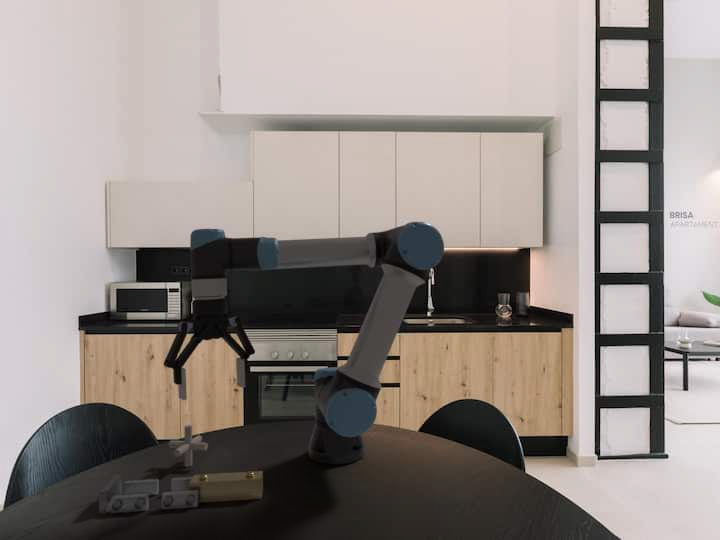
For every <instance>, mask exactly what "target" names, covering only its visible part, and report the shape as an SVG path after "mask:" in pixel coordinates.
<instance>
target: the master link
mask: <svg viewBox="0 0 720 540" xmlns="http://www.w3.org/2000/svg"><path fill="white" fill-rule="evenodd" d="M192 477H193V478H192V479H191V481H190V483H189V491H191V490H198V503H211V502H212V503H213V502H228V501H243V500H244V501H245V500H261V499H262V496H263V492H264V471H263V470H258V471H254V470H253V471H252V470H250V471H242V472H241V471H240V472H239V471H238V472H221V473H218V472H217V473H201V474H200V473H199V474H194V475H193V476H192Z"/></svg>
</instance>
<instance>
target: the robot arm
mask: <svg viewBox="0 0 720 540" xmlns="http://www.w3.org/2000/svg"><path fill="white" fill-rule="evenodd" d="M189 243H190V247H189V248H190V249H189V258H190V259H189V260H190V273H191V274H190V275H191V276H190V277H191V297H192V298H194V299H193V300H192V301H191V303H192V304H191V305H192V306H191V307H192V310H191V311H192V321H191V322H183V321H179V322H178V324H177V332H176V335H175V337H174V339H173V341H172V343H171V346H170V348H169V350H168V352H167V354H166V357H165V358H164V359H165V360H164V361H163V366H164V367H166V368H169V369H172V373H173V375H172V376H173V384H175V385H177V386H178V388H177V389H178V390H177V392H178V398H179V399H180V400H182V401H186V400H187V397H188V394H187V369H186V368H184V365H185V364H186V363H187V361H188V359H189V358H190V357H191V355H192V354H193V353H194V351H195V350H196V349H197V348H198V346H199V344H201V343H202V342H203V341H211V340H213V339H214V340H220V339H222V340H223V341H224V342H225V344H227V345H228V346H229V347H230V348H231V349H232V350H233V351H234V352H235V354H237V356H238V357H236V358H235V363H236V365H235V366H236V367H235V368H236V386H237V387H239V388H246V373H247V372H248V370H249V366H248V365H249V364H248V361H249V359H250V356H252V355H255V353H256V349H255V348H254V346H253V344H252V343H251V340H250V339H249V337H248V335H247V332H246V331H245V329H244V327H243V324H242V323H243V321H242V317H239V316H232V317H231V318H229V317H228V310H229V308H228V299H227V298H226V296H227V295H228V287H227V286H228V285H227V284H228V282H227V271H228V272H229V271H230V272H231V271H232V272H234V271H249V272H258V271H269V270H282V269H284V270H285V269H286V270H287V269H302V268H303V269H305V268H320V267H322V268H323V267H324V268H325V267H339V266H343V267H344V266H356V265H357V266H359V265H360V266H361V265H367V266H368V267H369V268H374V269H375V268H382V270H383V276H382V278H381V281H380V282H379V284H378V287H377V290H376V293H375V294H374V296H373V299H372V301H371V304H370V306H369V309H368V311H367V313H366V316H365V318H364V320H363V323H362V325H361V327H360V329H359V332H358V335H357V336H356V339H355V341H354V343H353V344H354V345H352V349H351V351H350V353H349V357H348V358H347V360H346V363H344V364H343V365H340V366H334V367H332V366H331V367H322V368H318V369H316V370H315V372H314V379H313V383H314V428H313V431H312V435H311V437H310V441H309V444H308V457H309V459H311V460H313V462H315V463H316V462H317V463H320V464H325V465H346V464H351V463H354V462H357V461H359V460H361V459H362V458H364V456H365V454H366V444H365V441H364V438H363V434H365V433H366V432H368V431H369V430H370V429H371V428H372V427H373V425H374V423H375V421H376V418H377V414H378V407H377V403H376V402H377V399H378V396H379V395H380V392H381V390H382V384H381V381H380V378H379V377H380V375H381V373H382V371H383V369H384V366H385V363H386V361H387V359H388V357H389V354H390V351H391V349H392V346H393V344H394V342H395V339H396V337H397V334H398V333H399V329H400V327H401V324H402V322H403V319H404V318H405V314H406V313H407V311H408V310H407V309H408V308H409V305H410V303H411V300H412V298H413V295H414V294H415V293H414V292H415V291H416V288H417V287H420V286H421V285H424V284H425V283H426V281H427V277H428V275H429V273H430V271H431V269H432V268H434V267H435V266H437V265H438V264H439V263H440V262H441V260H442V259H443V256H444V253H445V243H444V239H443V238H442V234H441V233H440V231H439V230H438V229H437V228H436V227H435V226H434V225H432V223H428V222H426V221H410V222H407V223H406V224H404V225H401V226H397V227H394V228H391V229H387V230H384V231H383V230H382V231H378V232H368V233H367V234H366V235H365V236H349V237H346V236H345V237H329V238H327V237H326V238H307V239H306V238H300V239H283V240H281V239H279V240H278V239H277V238H275V237H266V236H261V237H236V238H235V237H233V238H232V237H226V233H225V230H224V229H220V228H200V229H199V228H198V229H197V228H196V229H194V230H192V232H191V233H190V242H189ZM229 325H230V326H231V327H232V328H233V330H234V332H235V334H236V336H237V337H238V340H239V341H240V343H241V344H239V343H238V341H237V340H236V339H235V338H234V337H233V336H232V334H231V333H230V331H228V330H227V329H228V327H229ZM191 329H192V330H193V331H194V333H193V334H192V336H191V337H190V340H189V341H188V342H187V344H186V345H185V347H183V349H182V351H181V348H182V346H183V345H184V344H183V343H184V342H185V339H186V338H187V334H188V333H189V332H190V330H191ZM180 351H181V352H180Z"/></svg>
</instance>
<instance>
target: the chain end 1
mask: <svg viewBox="0 0 720 540" xmlns="http://www.w3.org/2000/svg"><path fill="white" fill-rule="evenodd" d="M159 492H160V481H159V478H154V479H153V478H152V479H151V478H150V479H138V480H137V479H136V480H127V481H126V480H125V481H124V482H123V474H114V475H113V476H112V477H111V478H110V480H108V482H107V483H105V484H104V486H103V487H102V488H101V489H100V490H99V491H98V514H99V515H103V514H105V513H106V514H108V511H109V512H110V514H119V512H121V513H131V512H132V511H133V512H145V511H148V510H149V508H150V507H149V506H150V503H149V502H150V501H149V499H150V498H149V497H150V496H158V494H159ZM133 512H132V513H133ZM106 514H105V515H106Z"/></svg>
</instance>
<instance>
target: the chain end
mask: <svg viewBox="0 0 720 540" xmlns="http://www.w3.org/2000/svg"><path fill="white" fill-rule="evenodd" d="M192 478H193V476H185V477H182V476H181V477H173V478H172V479H170V483H171V484H170V485H171V487H170V488H171V489H170V491H164V492H163V493H162V494H161V510H162V511H163V510H174V509H189V508H190V509H191V508H198V507H199V502H198V490H191V491H189V483H190V481H191V479H192Z"/></svg>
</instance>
